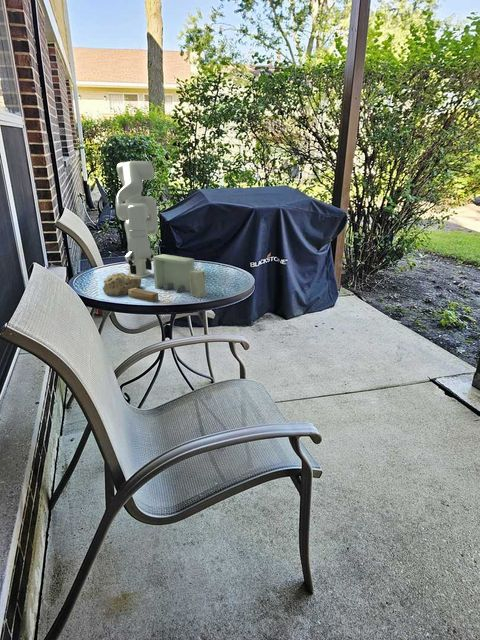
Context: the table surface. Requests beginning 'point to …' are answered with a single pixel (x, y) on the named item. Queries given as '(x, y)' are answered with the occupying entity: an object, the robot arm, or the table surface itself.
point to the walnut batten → (143, 295)
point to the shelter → (172, 272)
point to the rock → (120, 283)
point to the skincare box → (197, 283)
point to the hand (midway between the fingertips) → (141, 271)
